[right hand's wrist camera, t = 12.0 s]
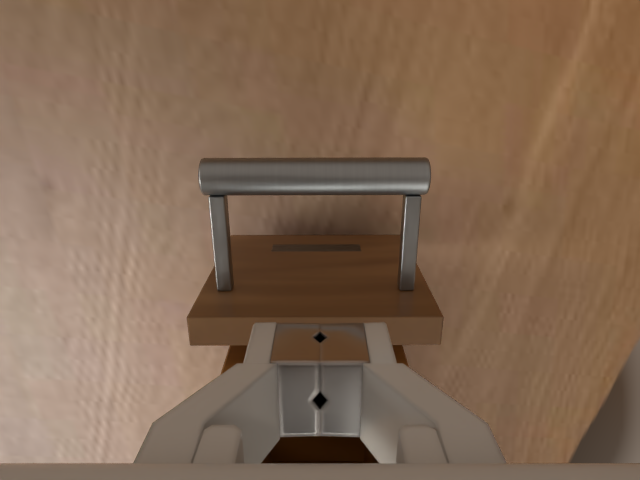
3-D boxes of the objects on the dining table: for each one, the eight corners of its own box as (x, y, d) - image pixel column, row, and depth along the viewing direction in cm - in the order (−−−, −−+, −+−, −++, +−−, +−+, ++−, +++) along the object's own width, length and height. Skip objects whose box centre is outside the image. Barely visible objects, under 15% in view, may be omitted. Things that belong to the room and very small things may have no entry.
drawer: (222, 134, 22) (168, 171, 14) (409, 134, 22) (459, 170, 14) (247, 455, 30) (220, 598, 22) (387, 454, 30) (413, 598, 22)
